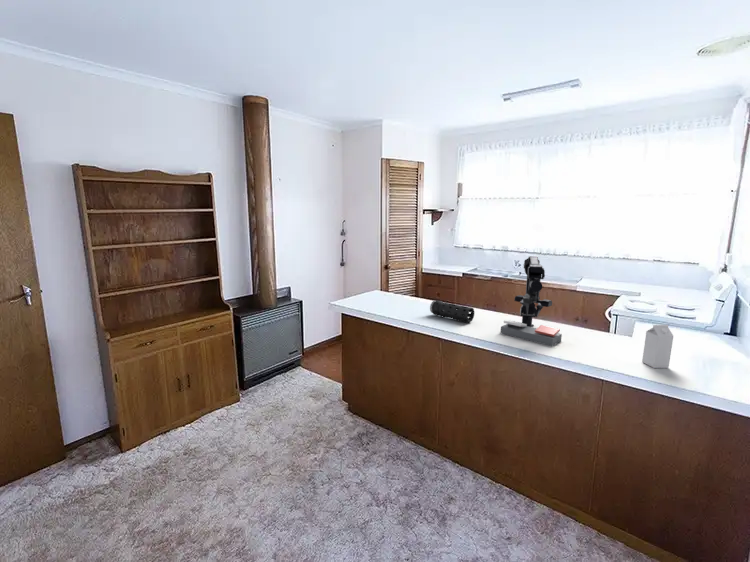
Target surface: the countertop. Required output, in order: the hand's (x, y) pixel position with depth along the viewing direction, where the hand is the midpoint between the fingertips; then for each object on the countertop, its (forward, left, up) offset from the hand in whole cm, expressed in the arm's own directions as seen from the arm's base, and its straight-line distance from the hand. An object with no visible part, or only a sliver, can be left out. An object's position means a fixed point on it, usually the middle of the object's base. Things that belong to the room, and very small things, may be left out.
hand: (531, 316), depth 212 cm
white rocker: (0, -9, -6) cm, 11 cm away
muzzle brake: (+2, -51, -12) cm, 52 cm away
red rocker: (0, +9, -6) cm, 11 cm away
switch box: (0, 0, -12) cm, 12 cm away
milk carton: (-3, +57, -12) cm, 58 cm away
